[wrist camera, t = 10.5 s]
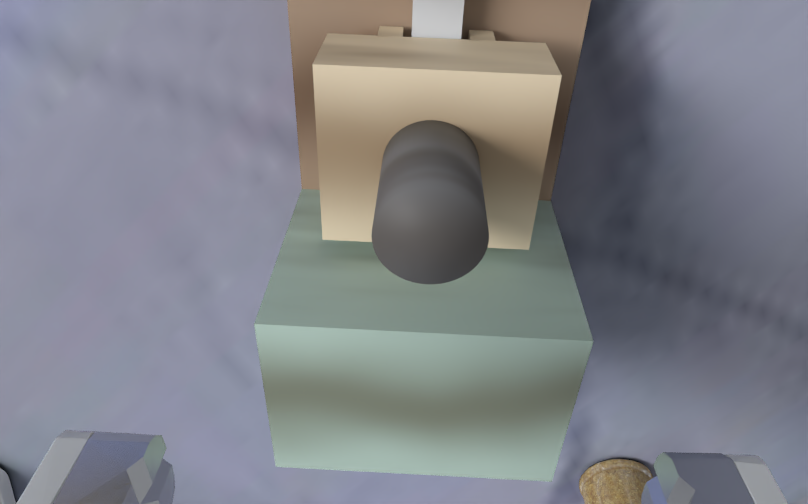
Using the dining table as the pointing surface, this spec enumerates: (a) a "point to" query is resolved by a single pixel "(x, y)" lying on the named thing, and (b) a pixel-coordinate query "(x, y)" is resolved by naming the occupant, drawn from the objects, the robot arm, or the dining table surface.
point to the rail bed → (423, 298)
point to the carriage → (432, 146)
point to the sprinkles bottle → (614, 482)
